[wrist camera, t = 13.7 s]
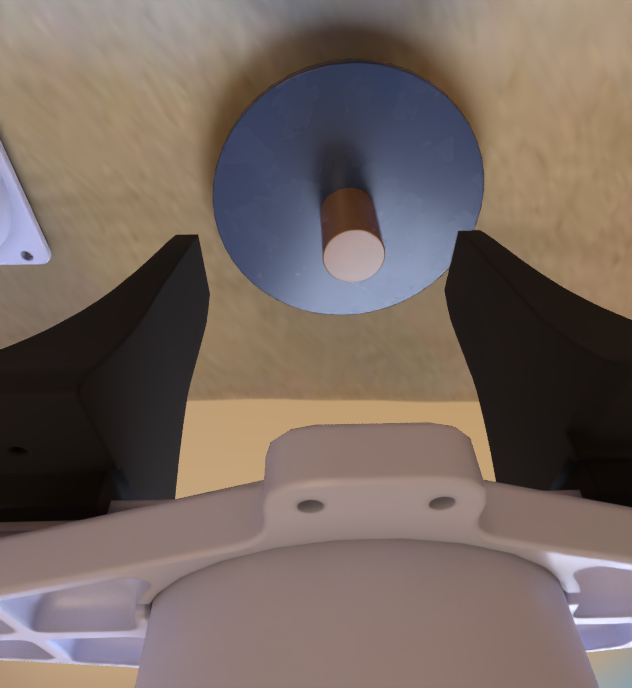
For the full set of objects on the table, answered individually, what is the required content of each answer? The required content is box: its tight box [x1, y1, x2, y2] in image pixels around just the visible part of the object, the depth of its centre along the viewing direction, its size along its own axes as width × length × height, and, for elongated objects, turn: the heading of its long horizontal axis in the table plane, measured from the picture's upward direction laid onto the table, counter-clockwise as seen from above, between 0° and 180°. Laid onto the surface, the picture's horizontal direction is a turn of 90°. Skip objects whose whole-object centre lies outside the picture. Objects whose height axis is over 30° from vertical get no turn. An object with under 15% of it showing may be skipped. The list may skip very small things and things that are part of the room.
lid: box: [213, 59, 484, 315], centre depth 20 cm, size 12×12×4 cm
